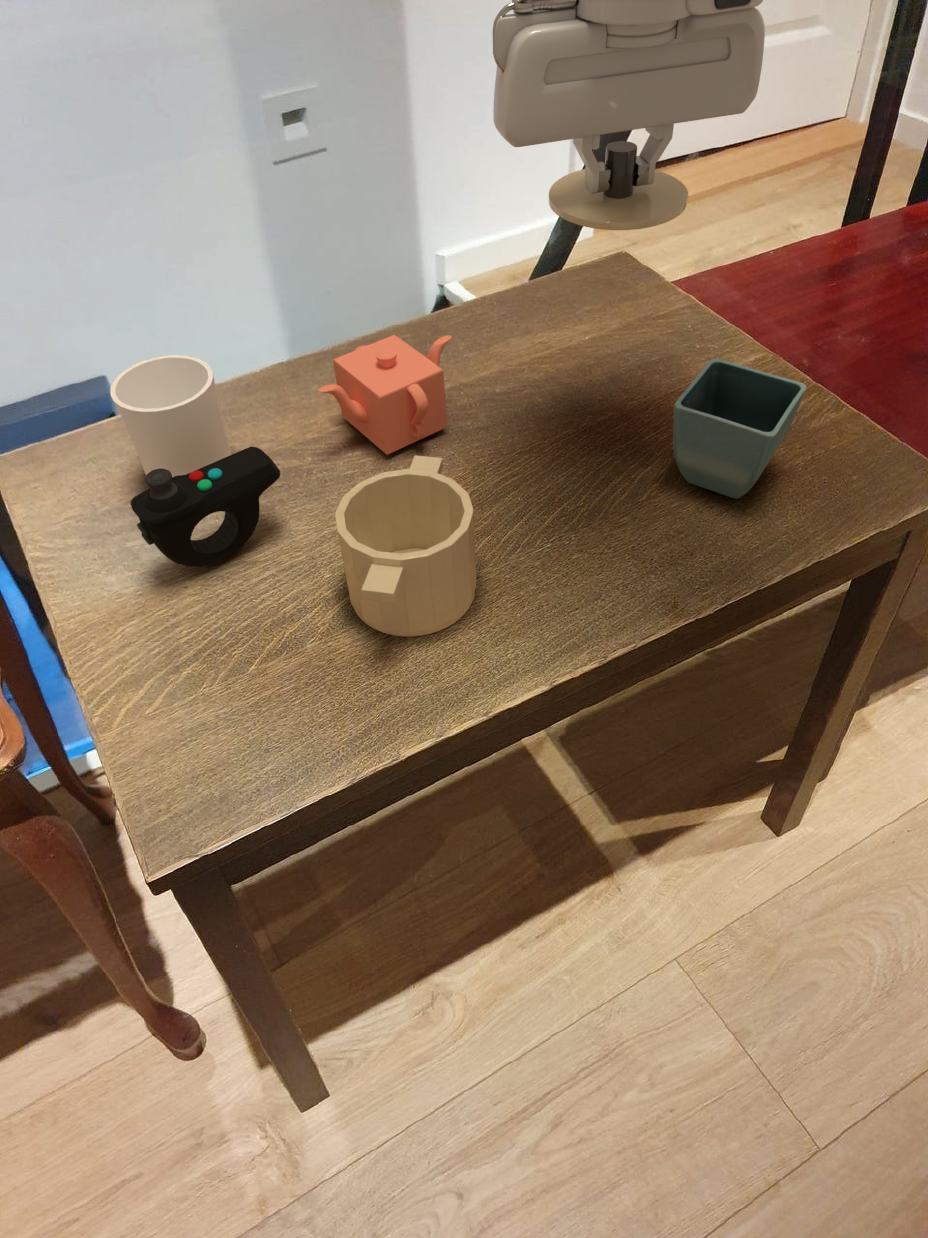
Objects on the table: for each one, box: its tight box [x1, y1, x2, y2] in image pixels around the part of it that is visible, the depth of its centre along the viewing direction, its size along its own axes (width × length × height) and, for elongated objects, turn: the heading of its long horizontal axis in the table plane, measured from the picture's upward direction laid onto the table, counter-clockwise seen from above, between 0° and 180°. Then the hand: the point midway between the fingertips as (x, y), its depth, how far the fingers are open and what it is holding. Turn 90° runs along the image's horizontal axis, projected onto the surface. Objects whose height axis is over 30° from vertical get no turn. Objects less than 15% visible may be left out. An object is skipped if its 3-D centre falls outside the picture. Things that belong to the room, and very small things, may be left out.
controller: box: [130, 446, 281, 568], centre depth 74 cm, size 4×12×10 cm, turn 128°
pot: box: [334, 455, 477, 638], centre depth 71 cm, size 10×16×8 cm, turn 168°
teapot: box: [317, 334, 453, 456], centre depth 87 cm, size 12×15×8 cm
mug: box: [110, 354, 233, 478], centre depth 82 cm, size 11×9×10 cm
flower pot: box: [672, 358, 807, 500], centre depth 79 cm, size 9×9×9 cm
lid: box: [548, 140, 689, 231], centre depth 71 cm, size 11×11×5 cm
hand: (618, 186), depth 72 cm, fingers closed on lid, 2 cm apart
